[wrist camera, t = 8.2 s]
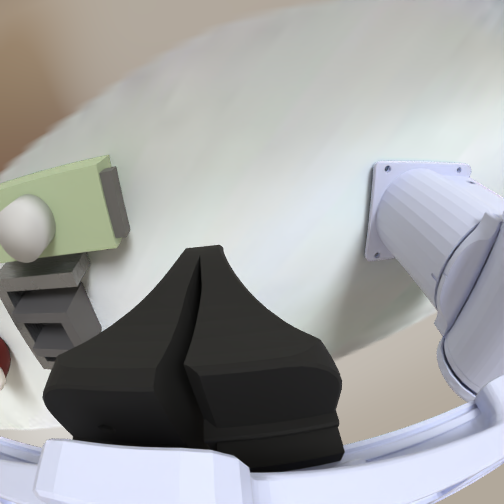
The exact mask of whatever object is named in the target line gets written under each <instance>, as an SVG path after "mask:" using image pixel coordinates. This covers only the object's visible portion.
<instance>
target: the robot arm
mask: <svg viewBox="0 0 504 504" xmlns="http://www.w3.org/2000/svg"><path fill="white" fill-rule="evenodd" d="M386 166H388V170H387V171H385V167H386ZM458 168H459V169H458ZM457 169H458V171H457ZM470 174H471V167H470V165H468V164H464V163H446V162H419V161H378V162H376V163H375V164H374V167H373V180H372V192H371V203H370V213H369V223H368V231H367V239H366V247H365V258H366V260H367V261H377V260H385V259H393V258H396V259H397V260H398V261H399V263H400V264H401V265H402V266H403V268H404V269H405V270H406V271H407V272H408V274H409V275H410V276H411V277H412V279H413V280H414V281H415V282H416V284H417V285H418V286H419V287H420V289H421V290H422V291H423V293H424V294H425V295H426V296H427V298H428V299H429V300H430V302H431V303H432V304H433V306H434V307H435V308H436V310H437V311H438V314H437V318H436V320H435V322H434V324H435V326H436V327H437V329H438V330H439V332H440V333H441V335H442V336H443V338H442V339H441V341H440V342H439V345H438V348H437V361H438V365H439V368H440V370H441V373H442V375H443V377H444V379H445V380H446V382H447V383H448V385H449V386H450V388H451V389H452V390H453V391H454V392H455V393H456V394H457V395H458V396H459V397H460V398H462V399H463V400H465V401H466V402H468V403H465V404H463V405H461V406H459V407H456V408H454V409H452V410H450V411H447V412H445V413H443V414H440V415H438V416H435V417H432V418H430V419H427V420H425V421H422V422H419V423H417V424H414V425H411V426H408V427H405V428H402V429H399V430H396V431H393V432H390V433H387V434H383V435H380V436H376V437H373V438H370V439H366V440H362V441H358V442H354V443H350V444H347V445H343V444H342V440H341V437H340V433H339V430H338V426H339V419H338V416H337V413H336V407H337V404H338V400H339V397H340V393H341V390H342V380H341V377H340V373H339V371H338V369H337V367H336V365H335V363H334V361H333V359H332V357H331V356H330V354H329V352H328V351H327V349H326V347H325V346H324V344H323V343H322V342H321V340H320V339H318V338H316V337H314V336H312V335H310V334H307V333H305V332H303V331H301V330H299V329H297V328H295V327H293V326H291V325H290V324H288V323H286V322H285V321H283V320H282V319H280V318H279V317H278V316H276V315H275V314H274V313H272V312H271V311H270V310H268V309H267V308H266V307H265V306H264V305H262V304H261V303H260V302H259V301H258V300H257V299H256V298H255V297H254V296H253V295H252V294H251V293H250V292H249V291H248V290H247V288H246V287H245V286H244V285H243V284H242V282H241V281H240V280H239V278H238V277H237V276H236V274H235V273H234V271H233V270H232V268H231V266H230V265H229V263H228V261H227V259H226V257H225V254H224V251H223V247H222V246H220V245H214V246H204V247H195V248H186V249H185V250H184V252H183V253H182V254H181V255H180V257H179V258H178V259H177V261H176V262H175V263H174V265H173V266H172V267H171V269H170V270H169V271H168V272H167V274H166V275H165V276H164V277H163V279H162V280H161V281H160V282H159V283H158V284H157V286H156V287H155V288H154V289H153V290H152V291H151V292H150V293H149V294H148V295H147V296H146V297H145V298H144V299H143V300H142V301H141V302H140V303H139V304H138V305H137V306H136V307H134V308H133V309H132V310H131V311H130V312H129V313H127V314H126V315H125V316H123V317H122V318H121V319H119V320H118V321H117V322H115V323H114V324H113V325H111V326H110V327H109V328H107V329H105V330H104V331H102V332H101V333H99V334H98V335H96V336H94V337H93V338H91V339H89V340H88V341H86V342H84V343H82V344H80V345H78V346H76V347H74V348H72V349H70V350H68V351H66V352H64V353H62V354H60V355H58V356H57V358H56V360H55V363H54V365H53V368H52V370H51V373H50V375H49V378H48V380H47V383H46V386H45V388H44V391H43V400H44V403H45V405H46V407H47V409H48V410H49V411H50V413H51V414H52V415H53V416H54V417H55V418H56V419H57V421H58V422H59V423H60V424H61V425H62V426H63V427H64V428H65V429H66V430H67V431H68V432H69V433H70V434H71V435H72V436H73V440H71V439H49V440H46V442H45V443H44V445H43V446H42V448H41V447H37V446H33V445H29V444H25V443H22V442H18V441H15V440H11V439H8V438H5V437H1V436H0V504H434V503H436V502H438V501H440V500H442V499H444V498H446V497H448V496H450V495H452V494H454V493H455V492H457V491H459V490H461V489H463V488H464V487H466V486H468V485H470V484H472V483H473V482H475V481H477V480H478V479H480V478H482V477H483V476H485V475H486V474H488V473H490V472H491V471H493V470H494V469H496V468H497V467H499V466H500V465H502V464H503V463H504V198H503V197H502V196H500V195H499V194H497V193H495V192H494V191H492V190H490V189H489V188H487V187H485V186H484V185H482V184H480V183H479V182H477V181H475V180H473V179H472V178H470ZM376 253H378V254H377V255H376V256H375V254H376Z"/></svg>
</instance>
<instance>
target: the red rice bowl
mask: <svg viewBox="0 0 504 504" xmlns="http://www.w3.org/2000/svg"><path fill="white" fill-rule="evenodd" d="M10 361H11V358H10V353H9V349H8V347H7V345H6V344H5V342H4V341H3V340H2V339H1V338H0V390H2V389H3V387H4V386H5V384H6V376H7V374H8V371H9V367H10Z"/></svg>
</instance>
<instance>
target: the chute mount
mask: <svg viewBox="0 0 504 504" xmlns="http://www.w3.org/2000/svg"><path fill="white" fill-rule="evenodd" d="M89 265H90V261H89V258H88V255H87V252H81V253H73V254H65V255H57V256H50V257H42V258H37V259H36V260H35V261H33V262H29V263H24V262H20V261H13V262H6V263H5V265H4V266H3V267H2V268H1V269H0V298H1V300H2V302H3V304H4V306H5V308H6V309H7V311H8V313H9V315H10V316H11V318H12V320H13V322H14V323H15V325H16V327H17V328H18V330H19V332H20V333H21V335H22V337H23V338H24V340H25V341H26V343H27V345H28V346H29V348H30V349H31V351H32V352H33V354H34V355H35V357H36V358H37V360H38V361H39V363H40V364H41V365H42V367H43V368H44V369H52V368H53V365H54V363H55V360H56V358H57V357H42V356H37V355H36V353H35V352H34V350H33V349H32V348H33V346H34V344H35V342H36V340H37V338H38V336H39V334H40V332H41V330H42V328H43V324H42V323H16V321H15V319H14V318H13V316H12V312H13V311H14V309H15V308H16V306H17V304H18V303H19V301H20V300H21V298H22V297H23V295H24V294H25V292H26V291H27V290H38V289H52V288H65V287H77V286H78V285H79V283H80V281H81V279H82V277H83V276H84V274H85V272H86V270H87V269H88V267H89Z"/></svg>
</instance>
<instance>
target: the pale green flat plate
mask: <svg viewBox="0 0 504 504" xmlns="http://www.w3.org/2000/svg"><path fill="white" fill-rule="evenodd" d="M129 232H130V226H129V222H128V218H127V214H126V210H125V205H124V201H123V197H122V192H121V187H120V183H119V178H118V173H117V168H116V166H115V167H111V163H110V158H109V155H106V156H101V157H97V158H92V159H88V160H83V161H79V162H75V163H71V164H67V165H63V166H59V167H55V168H51V169H48V170H44V171H40V172H37V173H33V174H30V175H26V176H23V177H20V178H17V179H13V180H10V181H7V182H4V183H1V184H0V263H6V262H13V261H20V262H24V263H29V262H33V261H35V260H36V259H37V258H42V257H50V256H57V255H65V254H73V253H81V252H89V251H97V250H105V249H113V248H117V247H118V245H119V243H120V242H121V240H122V238H123V237H127V236H128V234H129Z"/></svg>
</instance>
